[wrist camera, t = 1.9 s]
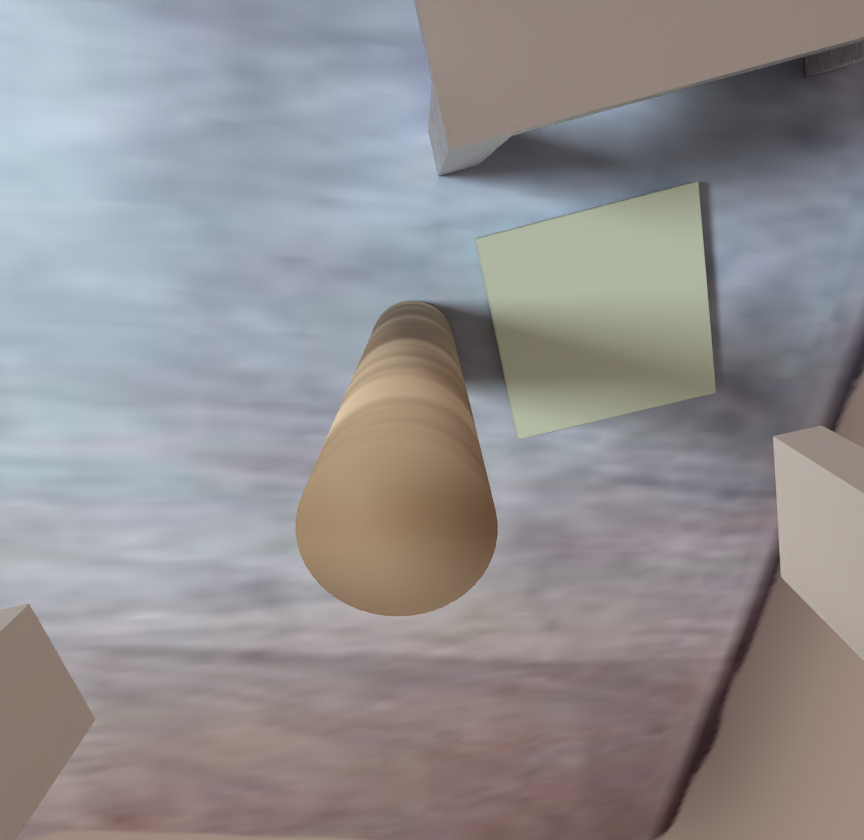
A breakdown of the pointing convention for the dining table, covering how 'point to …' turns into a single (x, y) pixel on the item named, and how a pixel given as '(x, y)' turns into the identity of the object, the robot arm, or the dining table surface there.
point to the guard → (604, 57)
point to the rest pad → (601, 310)
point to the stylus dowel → (400, 477)
